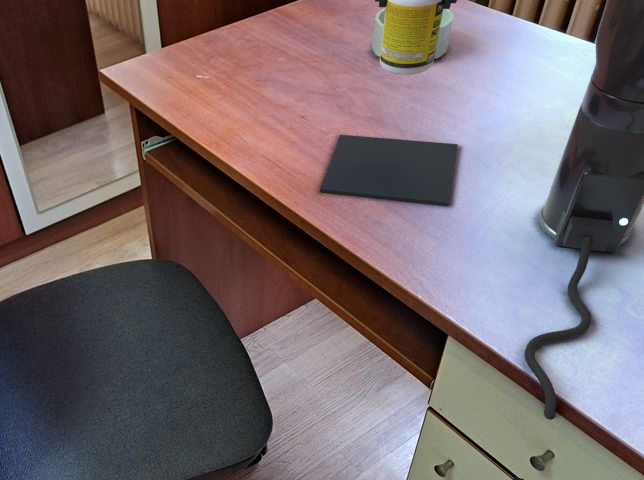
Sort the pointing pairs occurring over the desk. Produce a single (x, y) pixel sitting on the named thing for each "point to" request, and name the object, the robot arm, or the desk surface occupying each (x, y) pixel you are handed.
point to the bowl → (442, 37)
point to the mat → (391, 169)
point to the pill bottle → (410, 35)
